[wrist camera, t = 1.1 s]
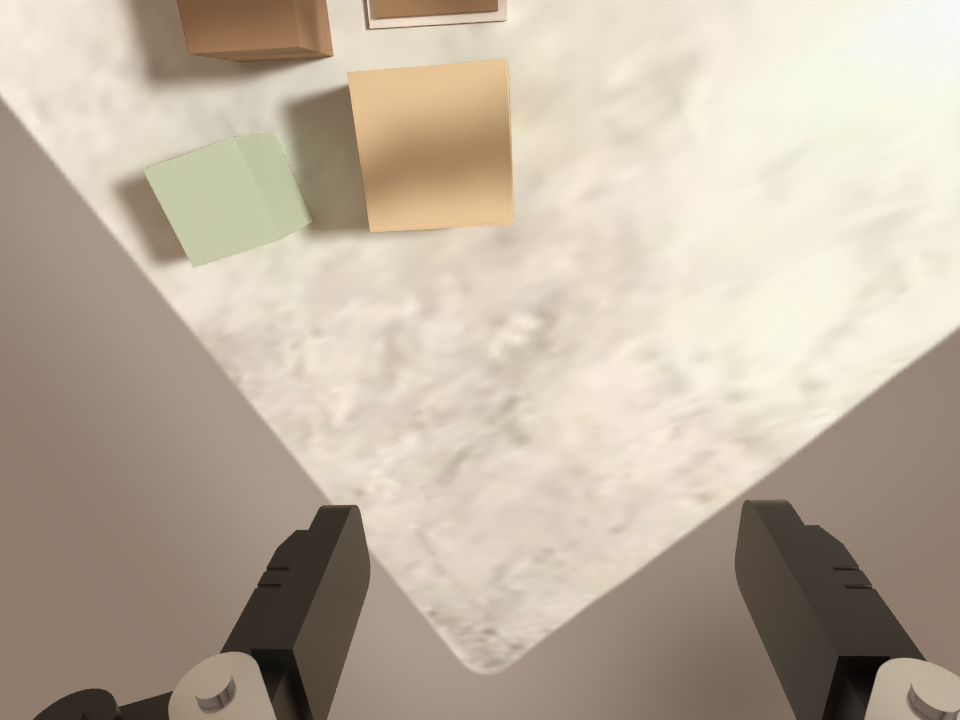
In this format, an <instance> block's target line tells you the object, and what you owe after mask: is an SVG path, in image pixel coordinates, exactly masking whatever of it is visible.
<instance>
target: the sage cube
mask: <svg viewBox="0 0 960 720" xmlns="http://www.w3.org/2000/svg"><path fill="white" fill-rule="evenodd" d="M143 172H144V174H145V176H146V178H147V180H148V182H149V183H150V185H151V187H152V189H153V191H154V193H155V195H156V197H157V199H158V201H159V203H160V205H161V207H162V208H163V210H164V212H165V214H166V216H167V218H168V220H169V222H170V224H171V226H172V228H173V230H174V232H175V233H176V235H177V237H178V239H179V241H180V243H181V245H182V247H183V249H184V251H185V253H186V255H187V257H188V258H189V260H190V262H191V264H192V266H193V268H195V267H198V266H201V265H205V264H208V263H211V262H214V261H217V260H220V259H223V258H226V257H229V256H232V255H235V254H238V253H241V252H244V251H247V250H251V249H254V248H257V247H260V246H263V245H266V244H269V243H272V242H275V241H278V240H281V239H283V238H284V237H286V236H288V235H290V234H292V233H293V232H295V231H297V230H299V229H301V228H302V227H304V226H306V225H308V224H310V223H311V222H313V219H312V217H311V215H310V212H309V210H308V208H307V205H306V203H305V200H304V198H303V196H302V193H301V191H300V189H299V186H298V184H297V182H296V179H295V177H294V174H293V172H292V170H291V167H290V165H289V163H288V160H287V158H286V156H285V153H284V151H283V148H282V146H281V144H280V141H279V139H278V137H277V134H276V132H269V133H260V134H251V135H241V136H233V137H231V138H228V139H225V140H223V141H220V142H217V143H214V144H212V145H209V146H206V147H204V148H201V149H198V150H195V151H193V152H190V153H187V154H185V155H182V156H179V157H176V158H174V159H171V160H168V161H166V162H163V163H160V164H157V165H155V166H152V167H149V168H147V169H144V170H143Z"/></svg>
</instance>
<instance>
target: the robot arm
mask: <svg viewBox="0 0 960 720" xmlns="http://www.w3.org/2000/svg"><path fill="white" fill-rule="evenodd" d="M735 571H736V578H737V582H738V586H739V589H740V591H741V594H742V596H743V598H744V601H745V603H746V605H747V607H748V610H749V612H750V614H751V616H752V619H753V621H754V623H755V626H756V628H757V630H758V632H759V635H760V637H761V639H762V642H763V644H764V646H765V648H766V651H767V653H768V655H769V657H770V660H771V662H772V664H773V667H774V669H775V671H776V673H777V676H778V678H779V680H780V682H781V685H782V687H783V689H784V692H785V694H786V696H787V699H788V701H789V703H790V705H791V707H792V710H793V712H794V714H795V717H796V719H797V720H960V678H959V677H958V676H956V675H955V674H953V673H951V672H950V671H948V670H946V669H944V668H942V667H940V666H937V665H935V664H932V663H930V662H927V661H926V660H925V658H924V657H923V655H922V654H921V653H920V651H919V650H918V648H917V647H916V646H915V644H914V643H913V641H912V640H911V639H910V637H909V636H908V634H907V633H906V632H905V630H904V629H903V627H902V626H901V625H900V623H899V622H898V620H897V619H896V618H895V616H894V615H893V613H892V612H891V611H890V609H889V608H888V606H887V605H886V604H885V602H884V601H883V600H882V598H881V597H880V595H879V594H878V592H877V591H876V590H875V589H872V584H871V583H870V581H869V580H868V578H867V577H866V576H865V574H864V573H863V571H860V570H859V566H858V564H857V563H856V562H855V560H854V559H853V557H852V556H851V555H850V553H849V552H848V550H847V549H846V548H845V546H844V545H843V544H842V543H841V542H840V541H838V540H837V539H836V538H834V537H833V536H832V535H830V534H829V533H828V532H826V531H825V530H824V529H823V528H821V527H820V526H819V525H811V526H810V525H808V526H805V525H804V523H803V522H802V521H801V519H800V517H799V516H798V514H797V513H796V511H795V510H794V508H793V507H792V505H791V504H790V503H789V502H788V501H787V500H784V499H778V500H746V501H745V502H744V504H743V507H742V512H741V519H740V526H739V533H738V540H737V547H736V554H735ZM369 580H370V558H369V553H368V548H367V543H366V538H365V533H364V528H363V523H362V518H361V513H360V510H359V508H358V506H357V505H323V506H321V507H320V508H319V510H318V512H317V514H316V516H315V518H314V520H313V522H312V524H311V526H310V528H309V530H296V531H295V532H294V533H293V534H292V535H291V536H289V537H288V538H287V539H286V540H285V541H284V542H283V543H282V544H281V545H280V546H279V547H278V548H277V550H276V551H275V553H274V555H273V557H272V559H271V560H270V563H269V564H268V566H267V571H266V572H264V573H263V575H262V577H261V579H260V581H259V583H258V587H257V588H256V589H255V590H254V592H253V594H252V596H251V597H250V599H249V601H248V603H247V605H246V607H245V608H244V610H243V612H242V614H241V616H240V617H239V619H238V621H237V623H236V625H235V627H234V628H233V630H232V632H231V634H230V636H229V638H228V639H227V641H226V643H225V645H224V647H223V649H222V650H221V652H220V654H219V655H215V656H213V657H211V658H208V659H206V660H204V661H203V662H201V663H200V664H198V665H197V666H195V667H194V668H193V669H191V670H190V671H189V672H188V673H187V674H186V675H185V676H184V677H183V678H182V680H181V681H180V682H179V683H178V685H177V686H176V688H175V689H174V691H171V692H169V693H165V694H162V695H159V696H155V697H152V698H149V699H145V700H141V701H138V702H134V703H131V704H127V705H124V706H120V707H118V705H117V703H116V701H115V699H114V697H113V696H112V695H111V694H110V693H109V692H108V691H106V690H102V689H86V690H82V691H78V692H75V693H73V694H70V695H68V696H66V697H64V698H62V699H60V700H58V701H56V702H55V703H53V704H51V705H50V706H49V707H47V708H46V709H45V710H43V711H42V712H41V713H40V714H39V715H37V716H36V717H35V718H34V719H33V720H327V717H328V714H329V711H330V707H331V704H332V701H333V698H334V694H335V692H336V688H337V685H338V682H339V679H340V675H341V672H342V669H343V666H344V663H345V660H346V657H347V653H348V650H349V647H350V644H351V641H352V638H353V634H354V631H355V628H356V625H357V622H358V619H359V616H360V612H361V609H362V606H363V603H364V600H365V597H366V593H367V590H368V586H369Z"/></svg>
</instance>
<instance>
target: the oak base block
mask: <svg viewBox="0 0 960 720" xmlns="http://www.w3.org/2000/svg"><path fill="white" fill-rule="evenodd" d="M347 76H348V82H349V89H350V96H351V103H352V110H353V117H354V124H355V131H356V138H357V145H358V152H359V159H360V166H361V173H362V180H363V186H364V193H365V200H366V207H367V214H368V221H369V228H370V232H384V231H401V230H419V229H437V228H454V227H472V226H490V225H507V224H514V185H513V162H512V139H511V115H510V92H509V69H508V64H507V60H493V61H481V62H469V63H457V64H444V65H432V66H420V67H408V68H395V69H383V70H371V71H358V72H347Z"/></svg>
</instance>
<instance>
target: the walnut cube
mask: <svg viewBox="0 0 960 720" xmlns="http://www.w3.org/2000/svg"><path fill="white" fill-rule="evenodd" d="M177 2H178V6H179V11H180V15H181V20H182V24H183V29H184V33H185V38H186V42H187V47H188V51H189V54H195V55H201V56H207V57H213V58H219V59H225V60H231V61H238V62H244V61H260V60H277V59H294V58H311V57H327V56H333V49H332V42H331V34H330V27H329V19H328V12H327V4H326V0H177Z"/></svg>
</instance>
